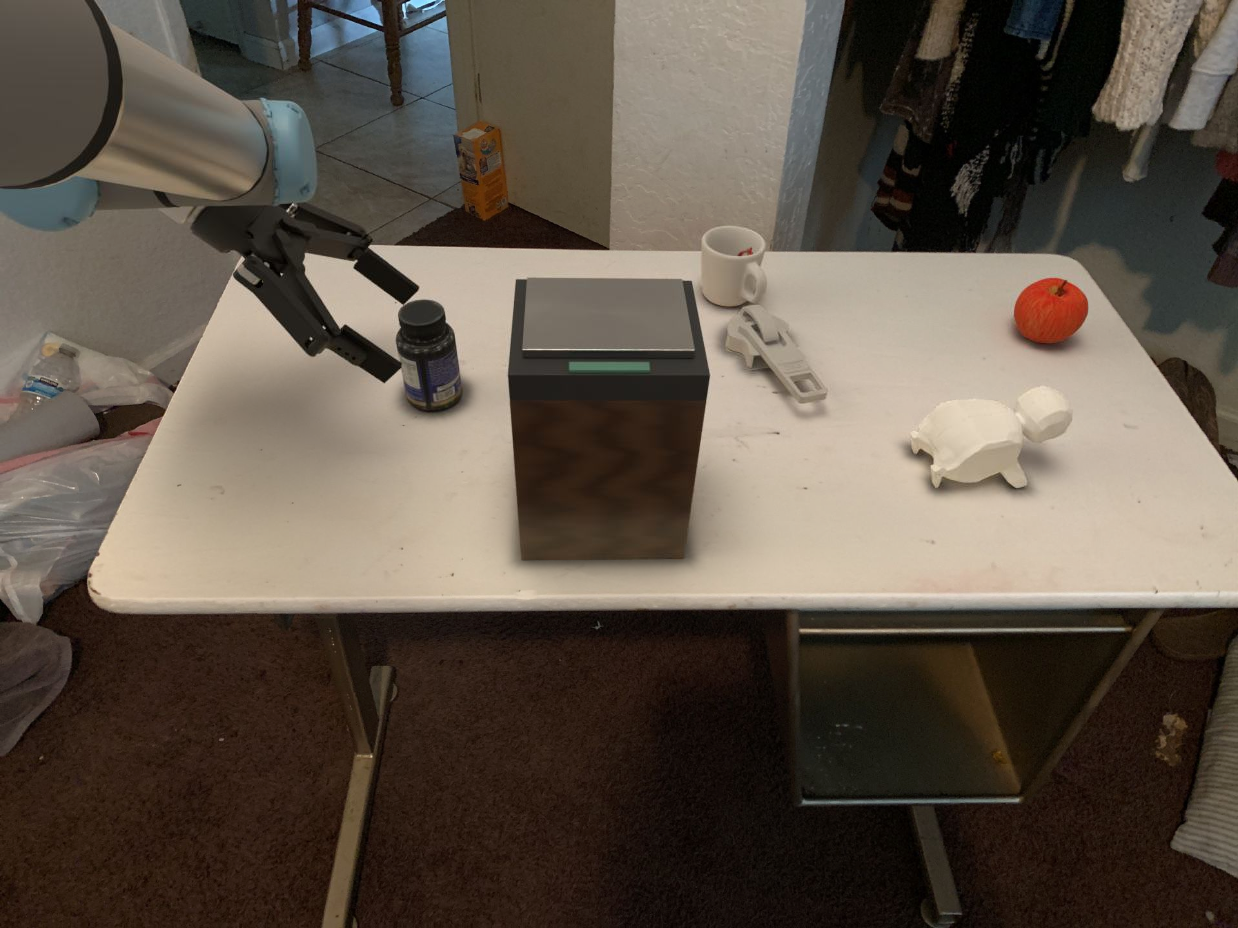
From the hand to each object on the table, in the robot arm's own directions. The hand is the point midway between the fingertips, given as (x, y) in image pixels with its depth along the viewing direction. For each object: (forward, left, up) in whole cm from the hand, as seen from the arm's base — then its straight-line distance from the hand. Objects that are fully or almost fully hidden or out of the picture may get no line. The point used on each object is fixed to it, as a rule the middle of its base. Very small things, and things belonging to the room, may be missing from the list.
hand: (403, 332), depth 86 cm
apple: (+76, +12, -9) cm, 78 cm away
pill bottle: (+2, 0, -9) cm, 9 cm away
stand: (+20, -17, -8) cm, 28 cm away
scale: (+20, -17, +11) cm, 29 cm away
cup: (+38, +19, -9) cm, 44 cm away
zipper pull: (+41, +5, -9) cm, 42 cm away
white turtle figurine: (+60, -11, -9) cm, 62 cm away
